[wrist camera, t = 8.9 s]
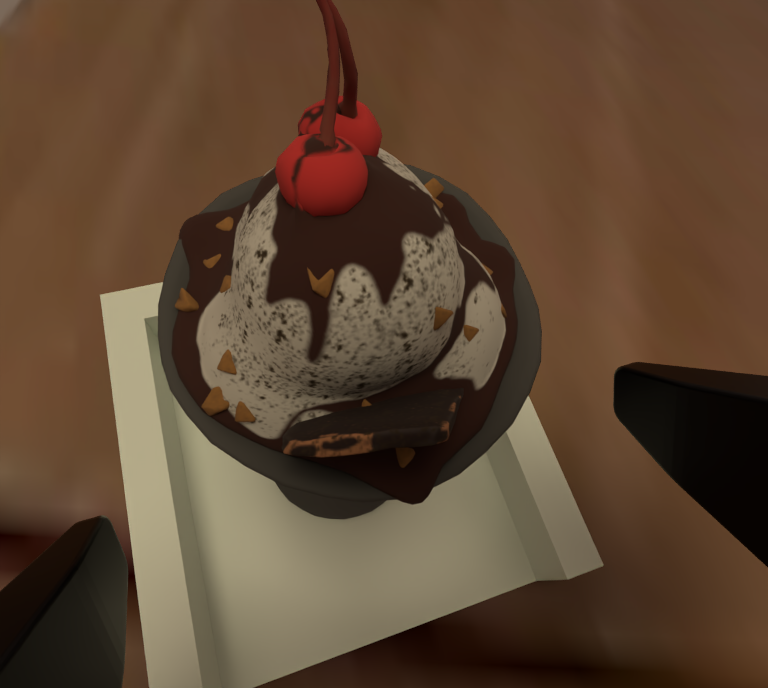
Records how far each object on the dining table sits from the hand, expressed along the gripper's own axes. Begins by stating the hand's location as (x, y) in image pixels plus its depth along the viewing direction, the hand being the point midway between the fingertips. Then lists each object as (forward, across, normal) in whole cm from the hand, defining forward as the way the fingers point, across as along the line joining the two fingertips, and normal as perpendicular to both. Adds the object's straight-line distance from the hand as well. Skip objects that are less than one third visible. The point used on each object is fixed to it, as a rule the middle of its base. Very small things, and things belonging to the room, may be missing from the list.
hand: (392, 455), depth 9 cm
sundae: (+9, 0, +5) cm, 10 cm away
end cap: (+9, 0, +5) cm, 10 cm away
